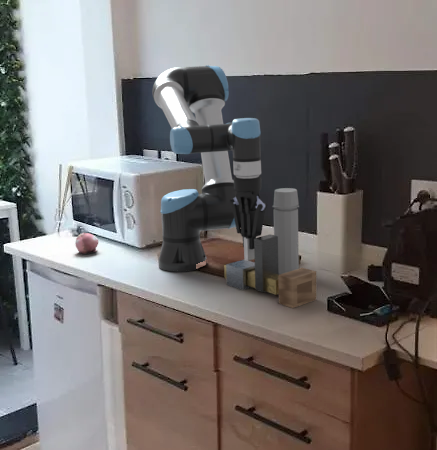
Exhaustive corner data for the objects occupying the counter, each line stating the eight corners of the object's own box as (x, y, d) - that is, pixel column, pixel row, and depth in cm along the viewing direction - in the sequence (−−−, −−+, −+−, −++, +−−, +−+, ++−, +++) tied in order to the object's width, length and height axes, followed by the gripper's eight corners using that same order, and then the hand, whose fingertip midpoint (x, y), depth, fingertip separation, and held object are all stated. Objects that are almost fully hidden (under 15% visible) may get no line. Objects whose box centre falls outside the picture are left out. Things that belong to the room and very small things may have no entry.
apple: (73, 256, 244) (69, 235, 245) (93, 254, 249) (89, 233, 250) (84, 253, 238) (81, 231, 239) (104, 250, 243) (101, 229, 244)
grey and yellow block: (222, 279, 207) (220, 230, 203) (237, 274, 210) (236, 226, 207) (273, 295, 191) (272, 242, 188) (289, 290, 195) (288, 238, 191)
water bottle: (298, 276, 209) (297, 192, 204) (272, 276, 211) (270, 192, 205) (301, 267, 218) (300, 186, 212) (275, 267, 220) (274, 186, 214)
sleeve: (226, 284, 205) (226, 264, 203) (244, 279, 209) (243, 259, 208) (243, 290, 200) (242, 269, 198) (261, 284, 204) (260, 264, 202)
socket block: (278, 303, 188) (278, 275, 186) (302, 295, 193) (302, 267, 192) (292, 308, 184) (292, 279, 182) (316, 299, 190) (316, 271, 188)
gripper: (221, 175, 198) (224, 258, 203) (253, 180, 188) (255, 266, 193) (241, 171, 202) (243, 252, 208) (274, 176, 193) (275, 261, 198)
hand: (249, 259), depth 200 cm, fingers closed
